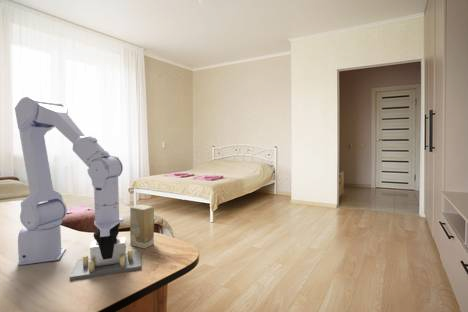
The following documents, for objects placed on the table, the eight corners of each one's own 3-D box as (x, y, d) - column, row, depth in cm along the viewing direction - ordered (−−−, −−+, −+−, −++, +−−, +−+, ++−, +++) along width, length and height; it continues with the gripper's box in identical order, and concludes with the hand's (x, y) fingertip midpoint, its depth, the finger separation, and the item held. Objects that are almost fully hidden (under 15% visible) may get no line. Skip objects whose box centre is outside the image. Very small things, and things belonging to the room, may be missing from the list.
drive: (90, 266, 68) (90, 246, 68) (93, 259, 72) (92, 240, 72) (125, 261, 71) (124, 242, 70) (125, 254, 75) (125, 236, 75)
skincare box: (129, 245, 85) (128, 206, 85) (140, 240, 89) (139, 203, 88) (144, 249, 82) (143, 209, 82) (155, 244, 86) (154, 206, 85)
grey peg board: (69, 280, 64) (69, 266, 64) (77, 262, 73) (77, 250, 73) (141, 269, 70) (140, 256, 69) (140, 253, 79) (140, 242, 79)
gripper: (122, 208, 65) (123, 263, 66) (124, 196, 79) (125, 242, 79) (89, 211, 63) (91, 268, 63) (97, 198, 76) (98, 245, 77)
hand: (108, 254), depth 71 cm, fingers closed on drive, 4 cm apart
